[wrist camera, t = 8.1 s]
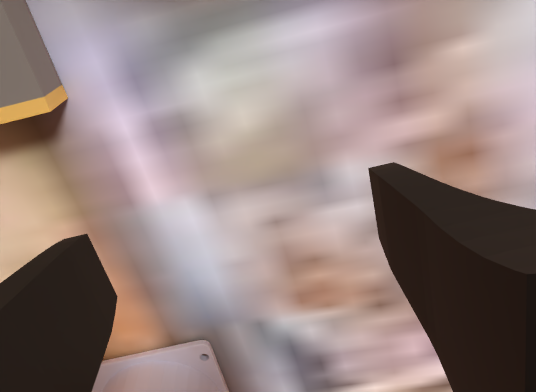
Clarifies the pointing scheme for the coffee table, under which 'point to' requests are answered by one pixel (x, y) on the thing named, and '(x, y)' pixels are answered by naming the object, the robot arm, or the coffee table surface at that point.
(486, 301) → the robot arm
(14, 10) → the dock
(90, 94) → the coffee table surface
